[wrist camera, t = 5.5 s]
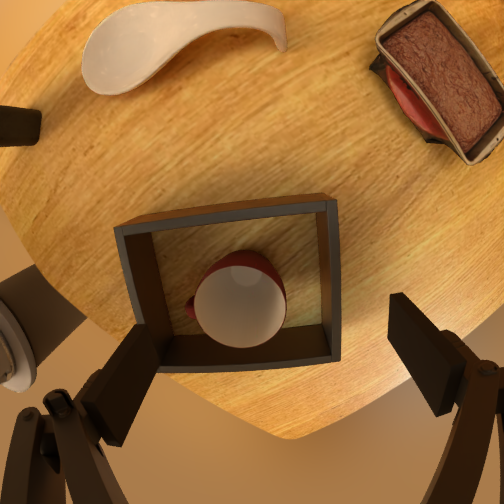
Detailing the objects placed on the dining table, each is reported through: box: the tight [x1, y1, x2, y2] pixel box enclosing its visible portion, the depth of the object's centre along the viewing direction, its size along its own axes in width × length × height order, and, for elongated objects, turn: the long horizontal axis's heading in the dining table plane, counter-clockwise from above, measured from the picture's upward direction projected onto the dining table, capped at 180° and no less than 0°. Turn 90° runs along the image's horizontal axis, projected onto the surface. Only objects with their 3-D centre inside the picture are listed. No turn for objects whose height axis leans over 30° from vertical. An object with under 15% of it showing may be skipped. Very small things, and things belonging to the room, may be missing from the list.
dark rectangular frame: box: [114, 193, 341, 373], centre depth 32 cm, size 21×17×7 cm
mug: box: [185, 250, 287, 348], centre depth 31 cm, size 10×8×10 cm
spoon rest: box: [82, 0, 287, 96], centre depth 25 cm, size 24×12×7 cm, turn 94°
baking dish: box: [369, 0, 504, 165], centre depth 24 cm, size 14×18×10 cm
